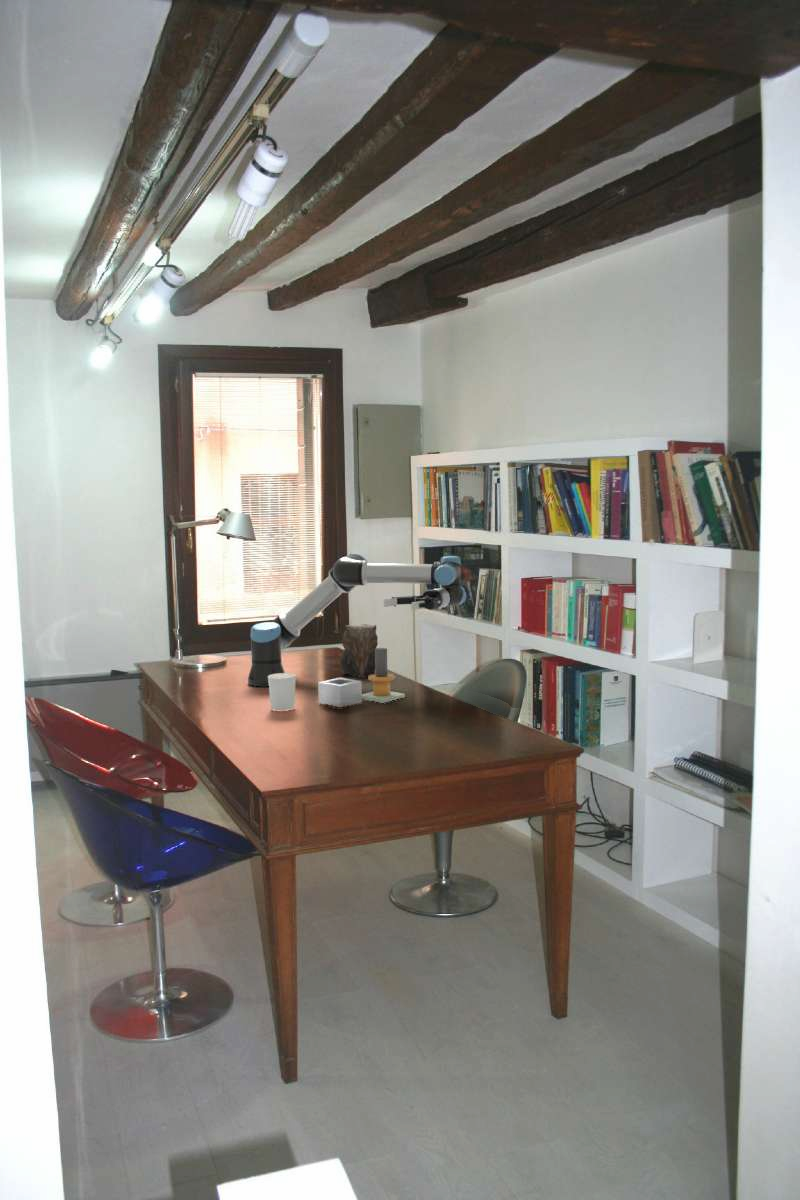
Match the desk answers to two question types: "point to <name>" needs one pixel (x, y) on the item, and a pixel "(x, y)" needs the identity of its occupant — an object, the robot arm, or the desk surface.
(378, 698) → the mat
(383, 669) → the end cover
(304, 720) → the desk surface
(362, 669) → the owl
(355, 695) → the block
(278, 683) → the candle holder
